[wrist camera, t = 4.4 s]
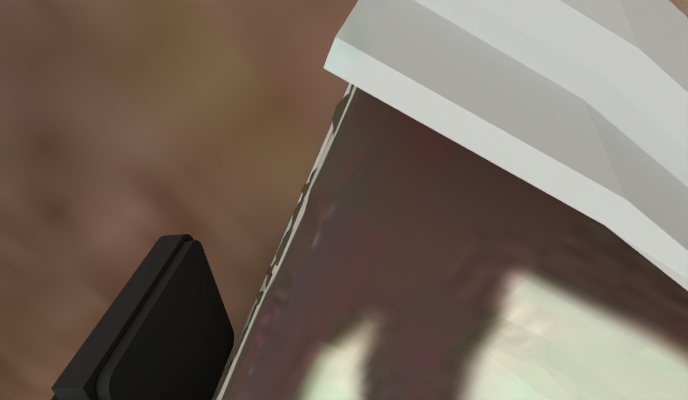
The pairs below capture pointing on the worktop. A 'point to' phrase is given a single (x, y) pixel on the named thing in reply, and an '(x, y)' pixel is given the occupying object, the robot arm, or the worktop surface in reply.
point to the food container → (487, 212)
